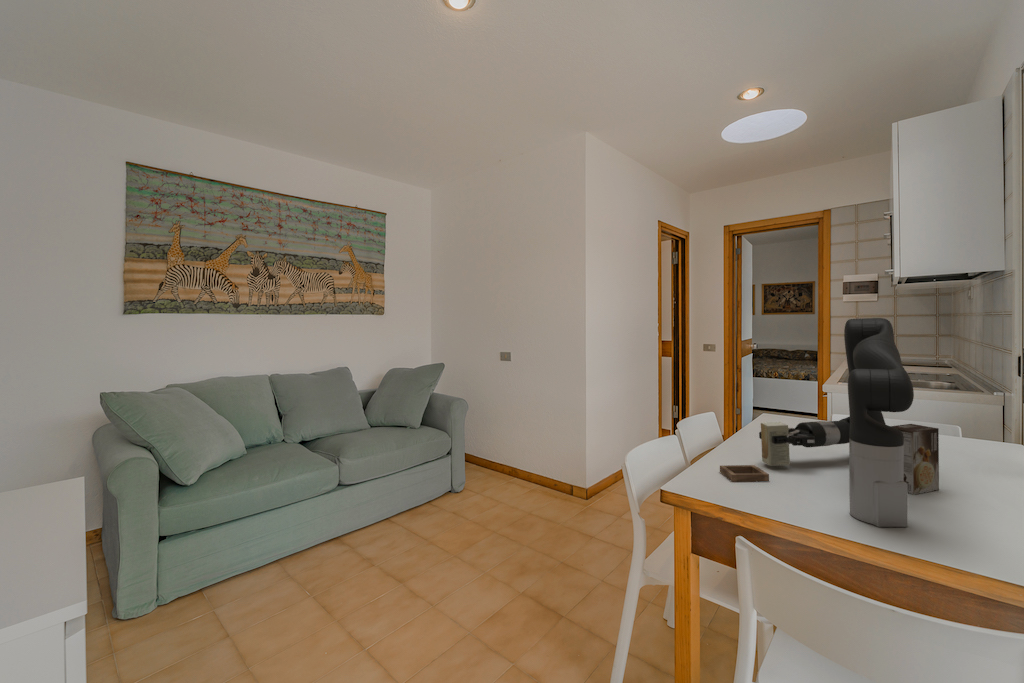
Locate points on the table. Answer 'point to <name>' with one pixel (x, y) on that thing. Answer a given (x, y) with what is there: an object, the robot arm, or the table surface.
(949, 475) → the table surface
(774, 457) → the skincare box
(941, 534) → the table surface
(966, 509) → the table surface
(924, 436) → the coffee box
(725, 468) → the pocket collar
